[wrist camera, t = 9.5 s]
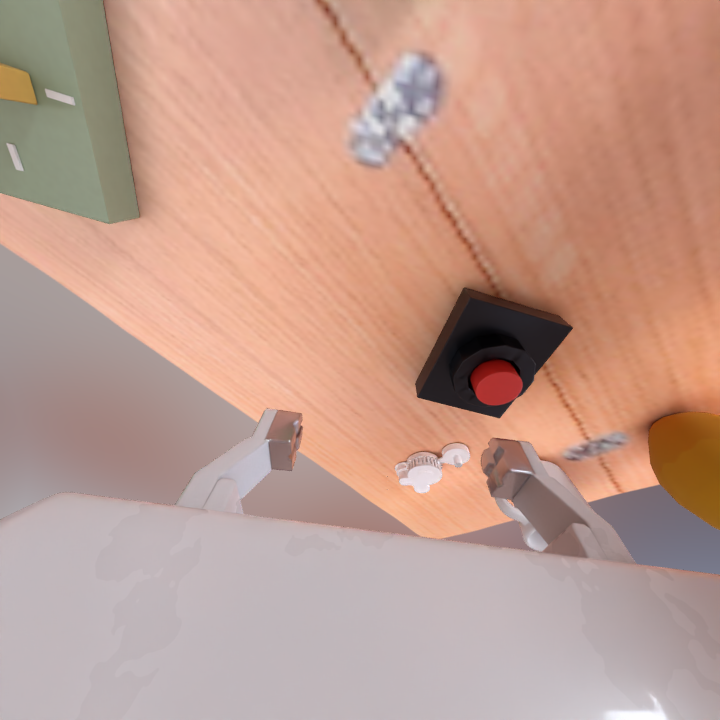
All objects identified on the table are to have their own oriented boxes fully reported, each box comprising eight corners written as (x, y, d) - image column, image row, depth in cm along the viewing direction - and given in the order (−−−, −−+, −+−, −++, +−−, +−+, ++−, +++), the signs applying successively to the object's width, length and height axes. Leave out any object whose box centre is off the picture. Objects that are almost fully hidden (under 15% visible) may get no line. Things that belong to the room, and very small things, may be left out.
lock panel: (-120, -126, 14) (-235, -193, 11) (95, -47, 15) (34, -91, 12) (2, 177, 21) (-51, 179, 19) (140, 217, 22) (107, 224, 20)
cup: (469, 477, 39) (487, 541, 32) (501, 441, 34) (529, 507, 27) (540, 493, 40) (572, 559, 33) (580, 460, 35) (625, 529, 28)
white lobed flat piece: (445, 486, 40) (448, 501, 38) (386, 475, 40) (386, 490, 38) (472, 445, 35) (477, 460, 33) (405, 432, 34) (406, 447, 32)
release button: (483, 354, 23) (490, 366, 22) (523, 365, 23) (532, 378, 22) (462, 386, 25) (467, 399, 24) (500, 396, 25) (507, 410, 24)
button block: (463, 287, 24) (476, 307, 20) (559, 315, 24) (587, 339, 21) (414, 383, 30) (418, 410, 27) (492, 403, 31) (506, 432, 27)
